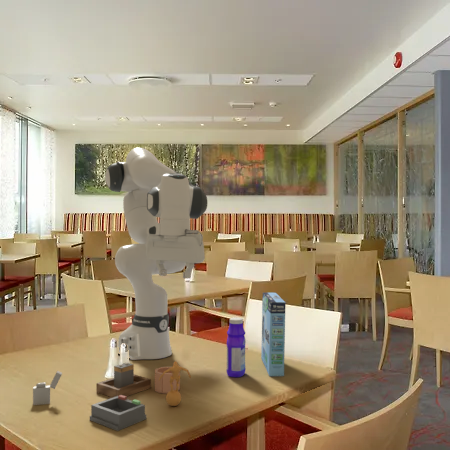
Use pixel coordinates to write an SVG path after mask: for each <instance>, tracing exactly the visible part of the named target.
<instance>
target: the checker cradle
mask: <svg viewBox="0 0 450 450" xmlns="http://www.w3.org/2000/svg"><path fill="white" fill-rule="evenodd" d="M127 397H128V396H127ZM127 397H126V396H123V395H120V396H116V397H113V398H112V397H110V398H107V399H105V400H102V401H98V402H96V403H93V404H91V405H90V407H91V415H89V421H91V422H93V423H96V424H99V425H101V426H104V427H106V428H109V429H112V430H114V431H116V432H118V431H121V430H124V429H125V428H128V427H130V426H133V425H135V424H137V423H140V422H143V421H145V420H147V414H146V404H143V403H141V402H142V401H140V400H138V399H133V400H130V399H127Z"/></svg>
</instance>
